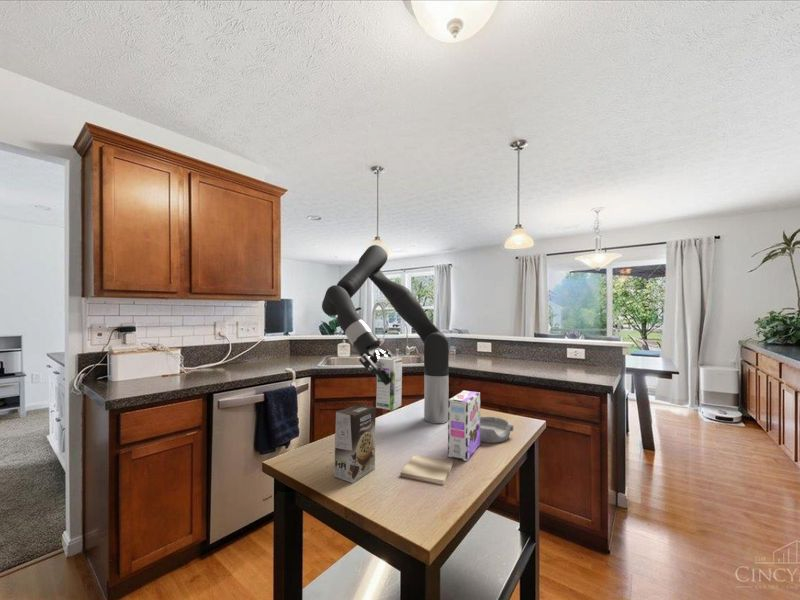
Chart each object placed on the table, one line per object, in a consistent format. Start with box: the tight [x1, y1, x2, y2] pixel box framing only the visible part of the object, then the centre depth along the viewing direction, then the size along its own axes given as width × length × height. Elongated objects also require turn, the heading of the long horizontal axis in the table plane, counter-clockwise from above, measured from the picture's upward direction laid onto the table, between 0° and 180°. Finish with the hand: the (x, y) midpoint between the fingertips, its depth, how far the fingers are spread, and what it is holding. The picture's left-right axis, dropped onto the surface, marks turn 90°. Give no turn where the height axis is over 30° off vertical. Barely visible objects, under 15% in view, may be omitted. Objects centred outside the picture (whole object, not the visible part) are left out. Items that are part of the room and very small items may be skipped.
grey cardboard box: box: [333, 404, 377, 484], centre depth 85 cm, size 9×6×16 cm
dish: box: [480, 416, 514, 444], centre depth 111 cm, size 14×14×5 cm
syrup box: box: [375, 356, 403, 411], centre depth 98 cm, size 6×6×14 cm
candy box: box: [447, 390, 481, 462], centre depth 99 cm, size 14×6×16 cm, turn 151°
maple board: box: [400, 454, 454, 486], centre depth 86 cm, size 11×11×1 cm
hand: (394, 380), depth 97 cm, fingers closed on syrup box, 6 cm apart
